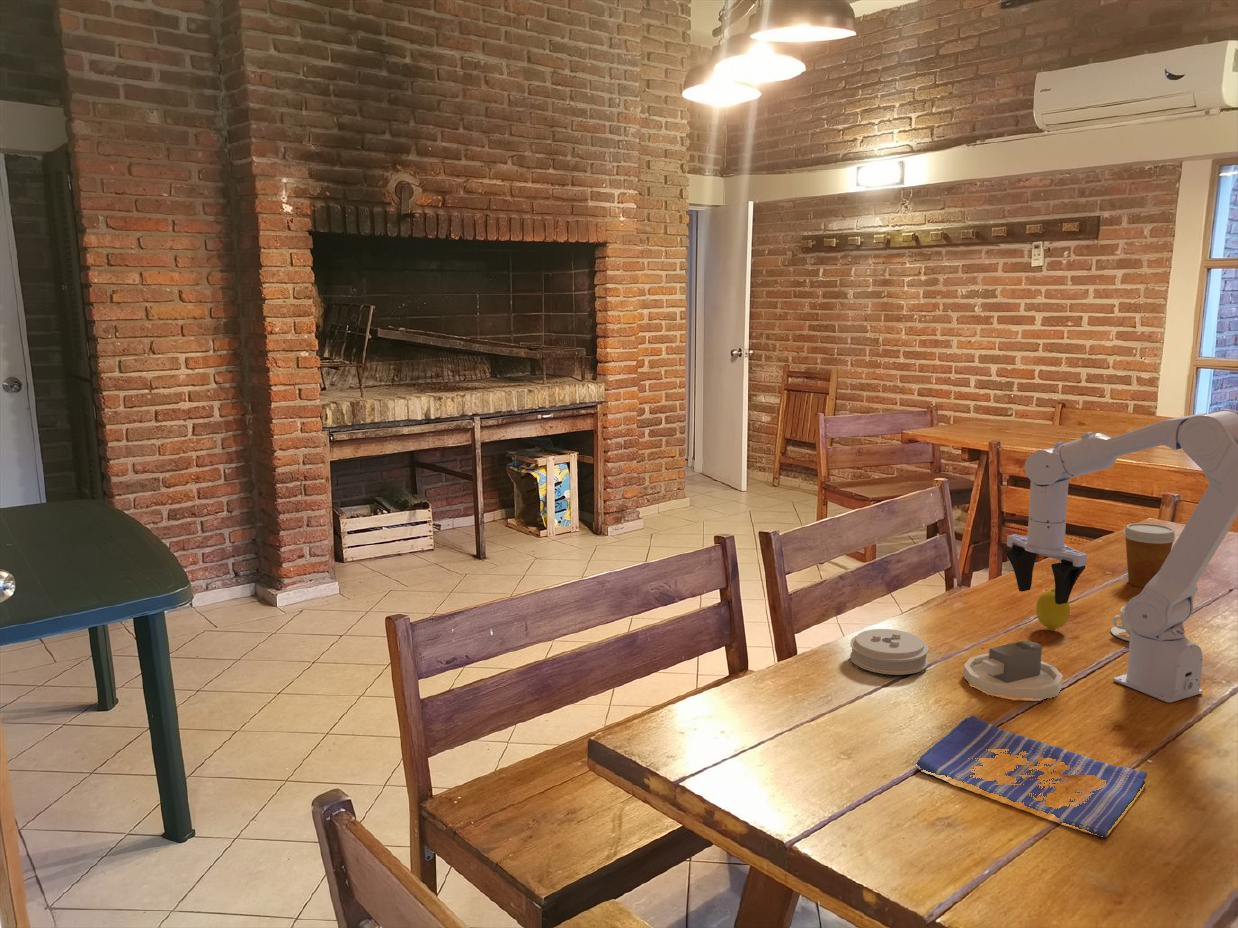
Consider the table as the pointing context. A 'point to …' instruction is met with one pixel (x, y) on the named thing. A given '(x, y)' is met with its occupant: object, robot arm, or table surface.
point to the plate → (1030, 687)
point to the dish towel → (1034, 773)
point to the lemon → (1052, 611)
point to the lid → (889, 652)
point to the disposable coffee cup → (1146, 550)
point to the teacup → (1121, 626)
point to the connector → (1014, 661)
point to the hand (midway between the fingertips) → (1042, 596)
